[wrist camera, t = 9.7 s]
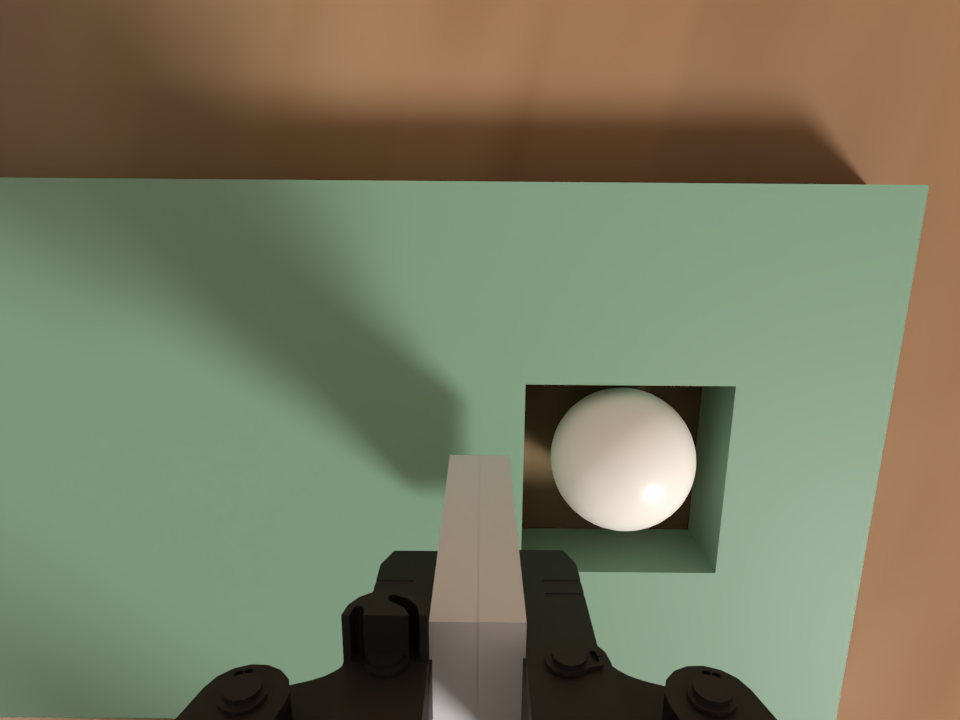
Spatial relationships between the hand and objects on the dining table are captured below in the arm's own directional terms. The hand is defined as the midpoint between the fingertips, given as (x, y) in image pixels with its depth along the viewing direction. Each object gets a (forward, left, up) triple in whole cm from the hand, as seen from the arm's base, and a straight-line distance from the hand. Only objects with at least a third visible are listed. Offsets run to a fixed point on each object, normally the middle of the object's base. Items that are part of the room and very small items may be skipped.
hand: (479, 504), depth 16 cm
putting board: (-3, 0, -4) cm, 5 cm away
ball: (+4, 0, -2) cm, 4 cm away
